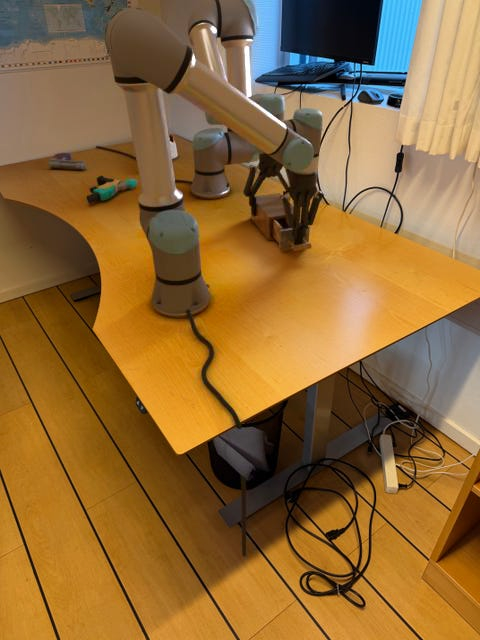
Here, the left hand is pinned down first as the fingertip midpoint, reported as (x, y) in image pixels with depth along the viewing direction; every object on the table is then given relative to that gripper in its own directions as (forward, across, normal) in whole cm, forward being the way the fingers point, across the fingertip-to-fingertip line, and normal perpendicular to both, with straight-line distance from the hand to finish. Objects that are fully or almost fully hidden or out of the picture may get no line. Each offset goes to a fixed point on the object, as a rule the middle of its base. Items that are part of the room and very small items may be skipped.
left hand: (298, 247), depth 144 cm
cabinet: (+3, 0, -21) cm, 21 cm away
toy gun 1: (+4, +64, -112) cm, 129 cm away
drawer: (+2, 0, -8) cm, 9 cm away
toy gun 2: (+4, +53, -71) cm, 88 cm away
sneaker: (+3, +26, -101) cm, 104 cm away
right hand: (0, 0, -26) cm, 26 cm away
